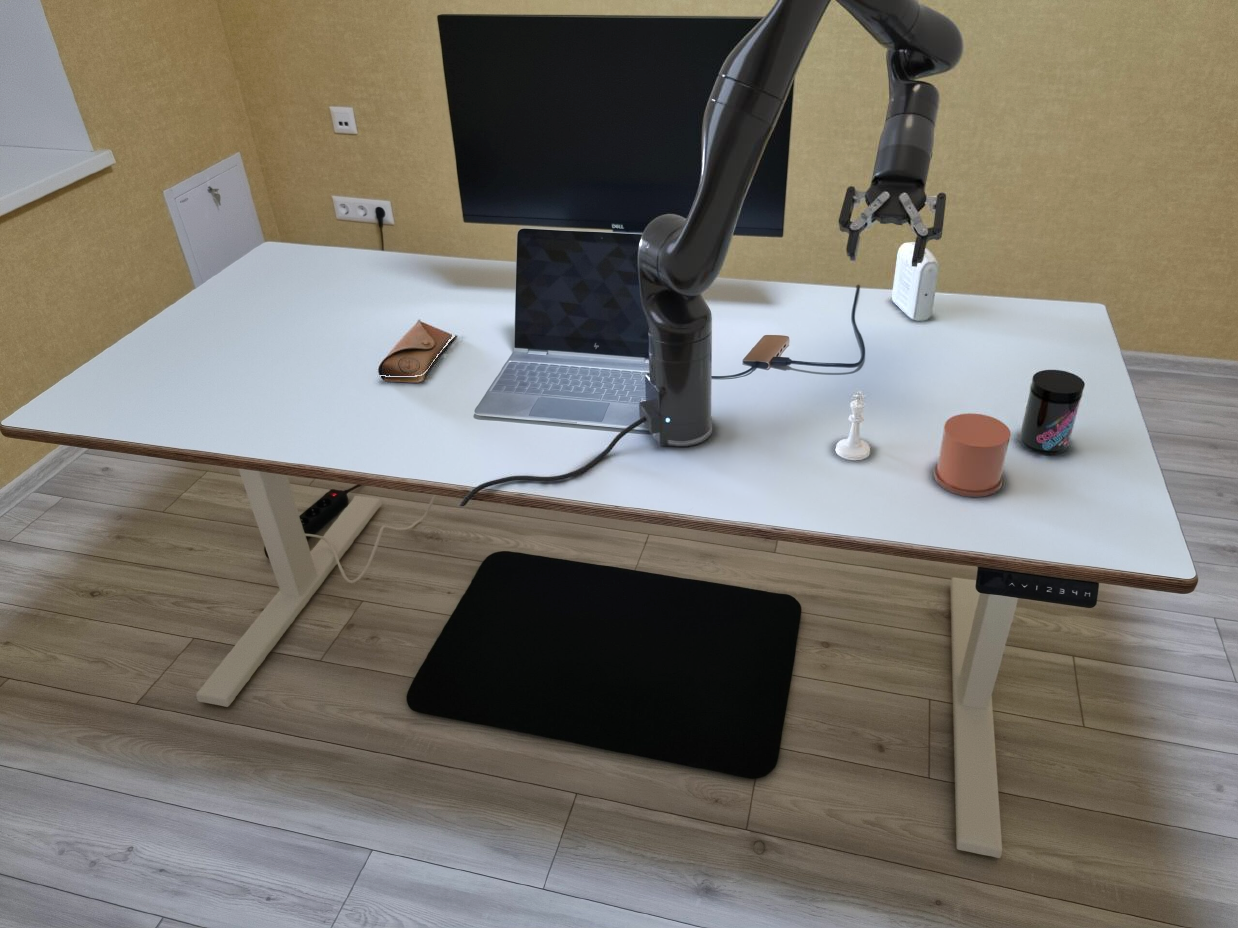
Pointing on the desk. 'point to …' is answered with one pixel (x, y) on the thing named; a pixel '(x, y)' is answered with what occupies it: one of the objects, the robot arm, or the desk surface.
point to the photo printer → (915, 283)
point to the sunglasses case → (415, 354)
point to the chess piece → (854, 434)
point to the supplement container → (1051, 411)
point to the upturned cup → (972, 455)
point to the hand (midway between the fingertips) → (883, 261)
